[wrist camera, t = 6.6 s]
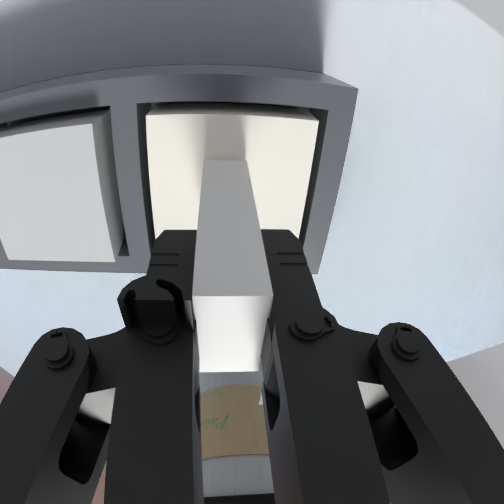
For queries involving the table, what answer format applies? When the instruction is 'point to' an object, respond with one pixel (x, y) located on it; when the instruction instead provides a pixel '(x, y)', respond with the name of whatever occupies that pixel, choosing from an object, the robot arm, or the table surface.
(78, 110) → the keypad
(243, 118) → the key cream
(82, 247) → the key grey
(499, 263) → the table surface
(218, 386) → the coffee cup
